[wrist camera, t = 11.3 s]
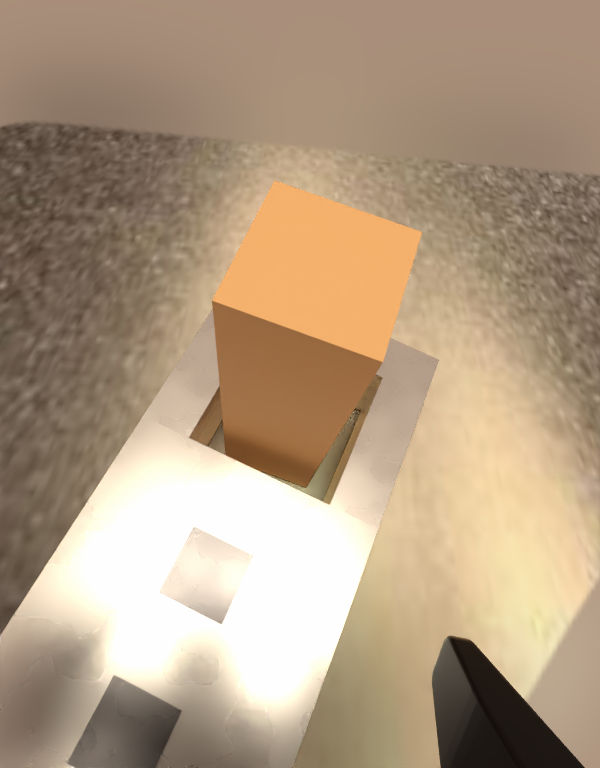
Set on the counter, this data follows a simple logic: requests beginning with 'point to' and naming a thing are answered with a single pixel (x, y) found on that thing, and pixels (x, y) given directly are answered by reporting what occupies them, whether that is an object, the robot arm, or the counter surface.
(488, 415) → the counter surface
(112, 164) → the counter surface
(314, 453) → the orange post
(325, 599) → the white peg board
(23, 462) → the counter surface
